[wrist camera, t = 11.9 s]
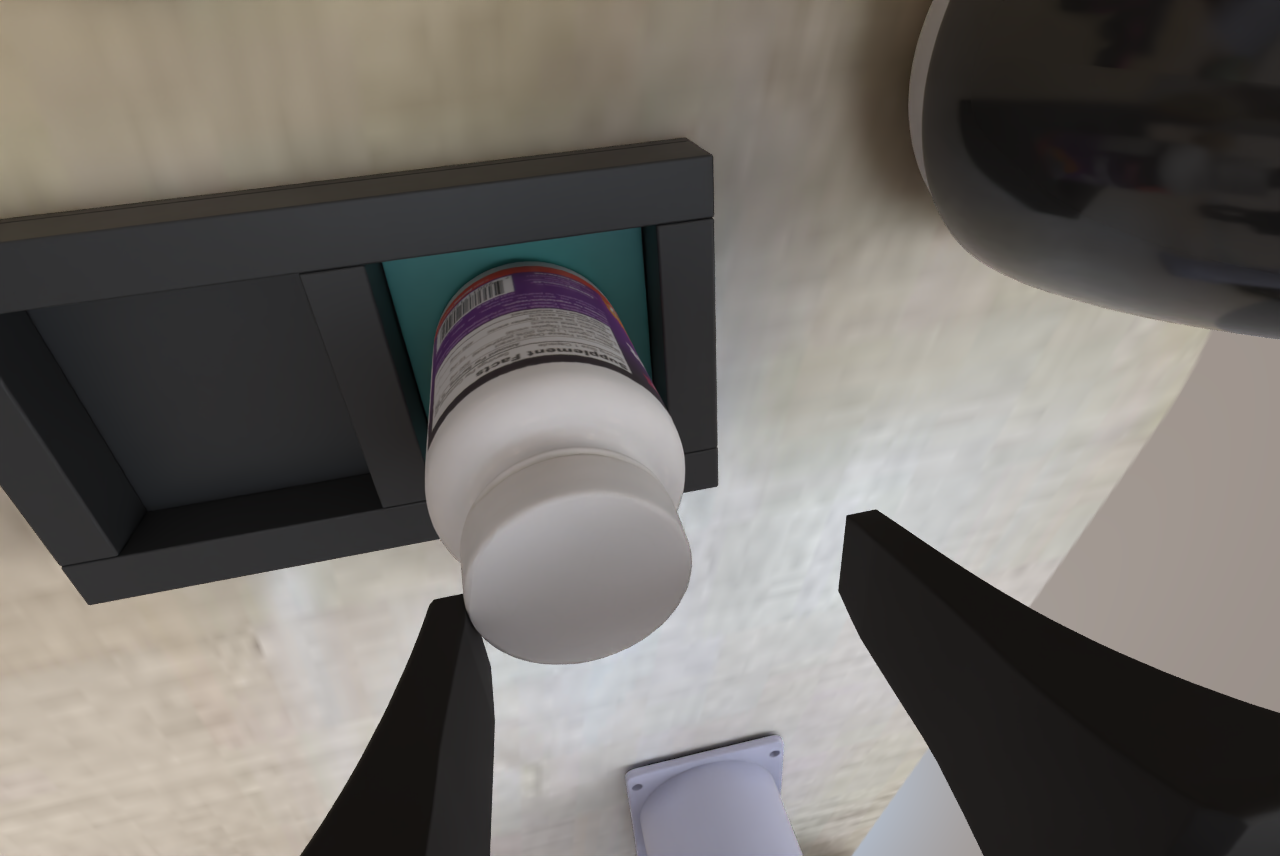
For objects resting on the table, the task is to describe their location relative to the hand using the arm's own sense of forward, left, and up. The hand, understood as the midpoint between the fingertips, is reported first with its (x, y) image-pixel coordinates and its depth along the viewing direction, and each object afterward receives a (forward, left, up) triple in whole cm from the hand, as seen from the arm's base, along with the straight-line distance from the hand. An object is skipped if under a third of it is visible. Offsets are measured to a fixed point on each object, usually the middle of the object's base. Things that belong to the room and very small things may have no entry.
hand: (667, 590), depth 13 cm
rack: (+1, +6, -10) cm, 12 cm away
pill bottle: (+1, +2, -9) cm, 10 cm away
